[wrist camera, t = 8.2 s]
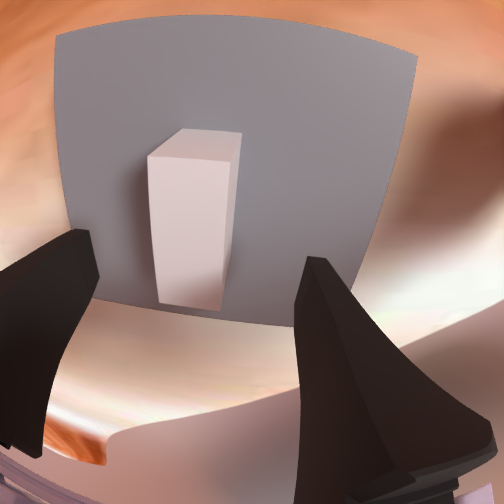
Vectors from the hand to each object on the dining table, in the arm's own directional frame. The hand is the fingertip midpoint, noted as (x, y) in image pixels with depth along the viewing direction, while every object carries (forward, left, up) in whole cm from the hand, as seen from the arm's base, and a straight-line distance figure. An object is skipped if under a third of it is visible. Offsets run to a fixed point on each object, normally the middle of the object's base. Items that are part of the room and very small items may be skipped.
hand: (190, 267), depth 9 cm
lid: (0, 0, -6) cm, 6 cm away
